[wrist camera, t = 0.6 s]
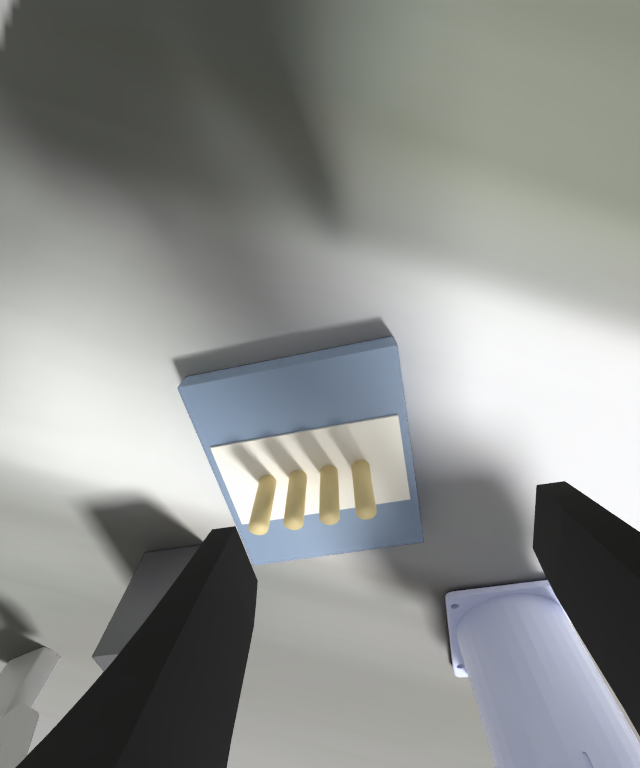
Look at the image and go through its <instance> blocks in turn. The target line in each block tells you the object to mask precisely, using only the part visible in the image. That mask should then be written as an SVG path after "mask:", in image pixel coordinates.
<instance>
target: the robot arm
mask: <svg viewBox="0 0 640 768" xmlns="http://www.w3.org/2000/svg"><path fill="white" fill-rule="evenodd" d="M533 549H534V552H535V554H536V556H537V558H538V560H539V563H540V565H541V567H542V569H543V571H544V573H545V575H546V578H547V580H542V581H534V582H526V583H518V584H509V585H501V586H493V587H485V588H477V589H468V590H460V591H452V592H449V593H447V594H446V596H445V601H446V611H447V620H448V629H449V638H450V647H451V656H452V666H453V672H454V675H455V676H457V677H469V681H470V684H471V687H472V691H473V694H474V698H475V701H476V704H477V708H478V711H479V715H480V718H481V721H482V725H483V728H484V731H485V735H486V738H487V742H488V745H489V748H490V752H491V755H492V758H493V762H494V765H495V768H640V743H639V741H638V740H637V738H636V736H635V734H634V733H633V731H632V729H631V727H630V726H629V724H628V722H627V720H626V719H625V717H624V715H623V713H622V712H621V710H620V708H619V707H618V705H617V703H616V701H615V700H614V698H613V696H612V694H611V693H610V691H609V689H608V687H607V686H606V684H605V682H604V680H603V679H602V677H601V675H600V673H599V672H598V670H597V668H596V666H595V665H594V663H593V661H592V659H591V658H590V656H589V654H588V653H587V651H586V649H585V647H584V646H583V644H582V642H581V640H580V639H579V637H578V635H577V633H576V632H575V630H574V628H573V626H574V627H575V629H576V631H577V632H578V634H579V636H580V637H581V639H582V641H583V642H584V644H585V645H586V647H587V649H588V650H589V652H590V654H591V655H592V657H593V659H594V660H595V662H596V663H597V665H598V667H599V668H600V670H601V672H602V673H603V675H604V677H605V678H606V680H607V682H608V683H609V685H610V686H611V688H612V690H613V691H614V693H615V695H616V696H617V698H618V700H619V701H620V703H621V704H622V706H623V708H624V709H625V711H626V713H627V715H628V716H629V718H630V720H631V722H632V723H633V725H634V727H635V729H636V730H637V732H638V734H639V736H640V532H639V531H637V530H636V529H634V528H633V527H631V526H630V525H628V524H627V523H625V522H624V521H623V520H621V519H620V518H618V517H617V516H615V515H614V514H612V513H611V512H609V511H608V510H606V509H605V508H603V507H602V506H600V505H599V504H598V503H596V502H595V501H593V500H592V499H590V498H589V497H587V496H586V495H584V494H583V493H581V492H580V491H578V490H577V489H576V488H574V487H573V486H571V485H570V484H568V483H566V482H565V481H563V482H556V483H549V484H541V485H537V488H536V505H535V521H534V537H533ZM257 582H258V581H257V578H256V576H255V574H254V571H253V569H252V566H251V564H250V561H249V559H248V556H247V554H246V551H245V549H244V546H243V544H242V541H241V539H240V537H239V534H238V532H237V529H236V527H235V526H234V527H227V528H220V529H212V530H211V532H210V533H209V535H208V536H207V537H206V539H205V540H204V541H203V543H202V544H201V545H200V547H199V548H198V549H197V551H196V552H195V554H194V555H193V556H192V558H191V559H190V561H189V562H188V563H187V565H186V566H185V568H184V569H183V570H182V572H181V573H180V574H179V576H178V577H177V579H176V580H175V581H174V583H173V584H172V585H171V587H170V588H169V589H168V591H167V592H166V593H165V595H164V596H163V598H162V599H161V600H160V602H159V603H158V604H157V606H156V607H155V608H154V610H153V611H152V612H151V614H150V615H149V616H148V618H147V619H146V620H145V621H144V623H143V624H142V625H141V627H140V628H139V629H138V630H137V632H136V633H135V634H134V635H133V637H132V638H131V639H130V640H129V642H128V643H127V644H126V645H125V647H124V648H123V649H122V650H121V652H120V653H119V654H118V655H117V657H116V658H115V659H114V660H113V662H112V663H111V664H110V665H109V666H108V668H107V669H106V670H105V671H104V672H103V673H102V675H101V676H100V677H99V678H98V679H97V681H96V682H95V683H94V684H93V685H92V686H91V687H90V689H89V690H88V691H87V692H86V693H85V694H84V695H83V696H82V698H81V699H80V700H79V701H78V702H77V703H76V704H75V705H74V706H73V708H72V709H71V710H70V711H69V712H68V713H67V714H66V715H65V716H64V718H63V719H62V720H61V721H60V722H59V723H58V724H57V725H56V726H55V727H54V728H53V730H52V731H51V732H50V733H49V734H48V735H47V736H46V737H45V738H44V739H43V740H42V741H41V742H40V743H39V744H38V745H37V746H36V747H35V748H34V749H33V750H32V751H31V752H30V753H29V754H28V755H27V756H26V757H25V758H24V759H23V760H22V761H21V762H20V763H19V764H18V765H17V766H16V767H15V768H227V762H228V756H229V750H230V744H231V738H232V733H233V728H234V723H235V718H236V713H237V708H238V703H239V698H240V693H241V688H242V683H243V678H244V673H245V668H246V663H247V658H248V653H249V648H250V643H251V638H252V632H253V627H254V618H255V607H256V595H257ZM571 623H572V624H573V626H572V625H571Z"/></svg>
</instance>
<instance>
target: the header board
mask: <svg viewBox="0 0 640 768" xmlns="http://www.w3.org/2000/svg"><path fill="white" fill-rule="evenodd" d="M178 391H179V393H180V395H181V398H182V400H183V402H184V405H185V407H186V409H187V412H188V414H189V416H190V419H191V421H192V423H193V426H194V428H195V430H196V433H197V435H198V437H199V440H200V442H201V444H202V447H203V449H204V451H205V454H206V456H207V458H208V461H209V463H210V466H211V468H212V470H213V473H214V475H215V477H216V480H217V482H218V484H219V487H220V489H221V491H222V494H223V496H224V498H225V501H226V503H227V505H228V508H229V510H230V512H231V515H232V517H233V519H234V522H235V524H236V526H237V529H238V531H239V533H240V536H241V538H242V540H243V543H244V545H245V547H246V550H247V552H248V554H249V557H250V559H251V561H252V564H253V566H254V565H261V564H268V563H276V562H283V561H290V560H298V559H305V558H312V557H320V556H327V555H334V554H341V553H349V552H356V551H363V550H371V549H378V548H385V547H393V546H400V545H407V544H415V543H422V542H424V540H423V533H422V525H421V518H420V510H419V503H418V495H417V488H416V480H415V473H414V465H413V458H412V450H411V443H410V435H409V428H408V421H407V413H406V406H405V398H404V391H403V383H402V376H401V368H400V361H399V353H398V346H397V343H396V341H395V339H394V337H393V336H391V337H386V338H380V339H375V340H370V341H365V342H360V343H355V344H350V345H345V346H340V347H335V348H330V349H325V350H319V351H314V352H309V353H304V354H299V355H294V356H289V357H284V358H279V359H274V360H269V361H264V362H259V363H253V364H248V365H243V366H238V367H233V368H228V369H223V370H218V371H213V372H208V373H203V374H198V375H193V376H187V377H186V378H185V379H184V380H183V381H182V383H181V384H180V385H179V386H178Z"/></svg>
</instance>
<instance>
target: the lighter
mask: <svg viewBox="0 0 640 768" xmlns="http://www.w3.org/2000/svg"><path fill="white" fill-rule="evenodd" d="M60 659H61V658H60V656H59V655H57V654H56V653H54V652H53V651H51V650H50V649H48V648H47V647H42V648H39V649H37V650H34V651H32V652H29V653H27V654H24V655H22V656H19V657H17V658H14V659H12V660H9V662H8V663H7V665H6V666H5V667H4V669H3V670H2V672H1V673H0V768H15V767H16V766H17V765H18V764H19V763H20V762H21V761H22V760H23V759H24V758H25V757H26V756H27V753H28V750H29V747H30V743H31V740H32V737H33V734H34V731H35V727H36V724H37V721H38V718H39V714H38V712H37V711H35V710H34V709H32V707H33V705H34V704H35V702H36V700H37V698H38V697H39V695H40V693H41V692H42V690H43V688H44V686H45V685H46V683H47V681H48V679H49V678H50V676H51V674H52V672H53V671H54V669H55V667H56V666H57V664H58V662H59V660H60Z"/></svg>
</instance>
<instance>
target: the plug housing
mask: <svg viewBox="0 0 640 768" xmlns="http://www.w3.org/2000/svg"><path fill="white" fill-rule="evenodd" d="M199 547H200V545H195V546H188V547H181V548H174V549H167V550H160V551H153V552H147V553H145V554H144V556H143V558H142V560H141V562H140V564H139V566H138V568H137V570H136V572H135V574H134V576H133V577H132V579H131V581H130V583H129V585H128V587H127V589H126V591H125V593H124V595H123V597H122V599H121V601H120V603H119V605H118V607H117V609H116V611H115V613H114V615H113V617H112V618H111V620H110V622H109V624H108V626H107V628H106V630H105V632H104V634H103V636H102V638H101V640H100V642H99V644H98V646H97V648H96V650H95V652H94V654H93V656H92V658H93V659H94V660H95V661H96V663H97V664H98V665H99V666H100V668H101V669H102V670H103V671H105V670H106V669H107V668H108V666H109V665H110V664H111V663H112V662H113V660H114V659H115V658H116V657H117V655H118V654H119V653H120V652H121V650H122V649H123V648H124V647H125V645H126V644H127V643H128V642H129V640H130V639H131V638H132V637H133V635H134V634H135V633H136V632H137V630H138V629H139V628H140V627H141V625H142V624H143V623H144V621H145V620H146V619H147V618H148V616H149V615H150V614H151V612H152V611H153V610H154V608H155V607H156V606H157V604H158V603H159V602H160V600H161V599H162V598H163V596H164V595H165V593H166V592H167V591H168V589H169V588H170V587H171V585H172V584H173V583H174V581H175V580H176V579H177V577H178V576H179V574H180V573H181V572H182V570H183V569H184V568H185V566H186V565H187V563H188V562H189V561H190V559H191V558H192V556H193V555H194V554H195V552H196V551H197V549H198V548H199Z"/></svg>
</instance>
